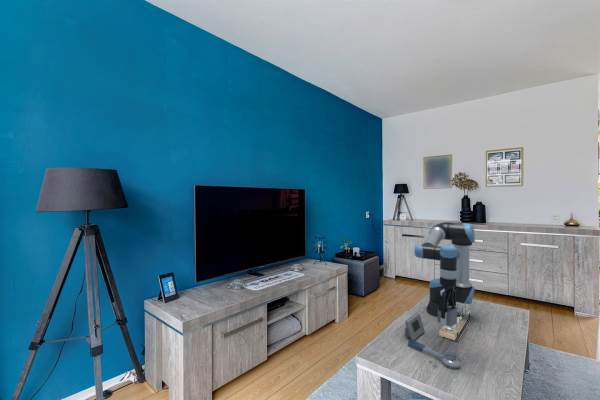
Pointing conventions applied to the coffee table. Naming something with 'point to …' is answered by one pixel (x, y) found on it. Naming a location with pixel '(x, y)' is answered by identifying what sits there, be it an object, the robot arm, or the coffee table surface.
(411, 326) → the digital clock
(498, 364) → the coffee table surface
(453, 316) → the socket
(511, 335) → the coffee table surface
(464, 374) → the coffee table surface
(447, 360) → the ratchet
